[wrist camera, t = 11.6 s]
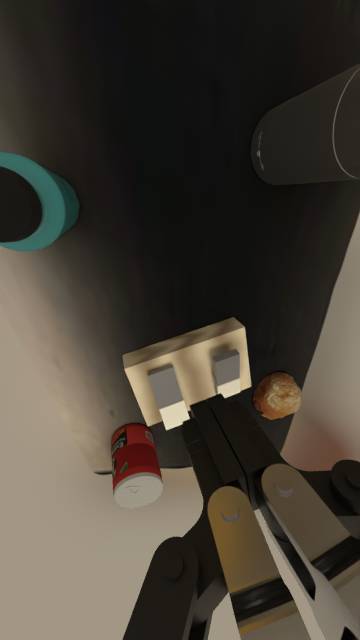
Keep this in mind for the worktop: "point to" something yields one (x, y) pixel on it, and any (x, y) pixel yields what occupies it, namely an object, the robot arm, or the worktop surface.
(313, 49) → the worktop surface
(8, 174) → the beverage bottle
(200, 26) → the worktop surface
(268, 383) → the bread roll
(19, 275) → the worktop surface
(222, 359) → the switch
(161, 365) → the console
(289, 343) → the worktop surface
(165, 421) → the switch
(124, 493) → the canned food
